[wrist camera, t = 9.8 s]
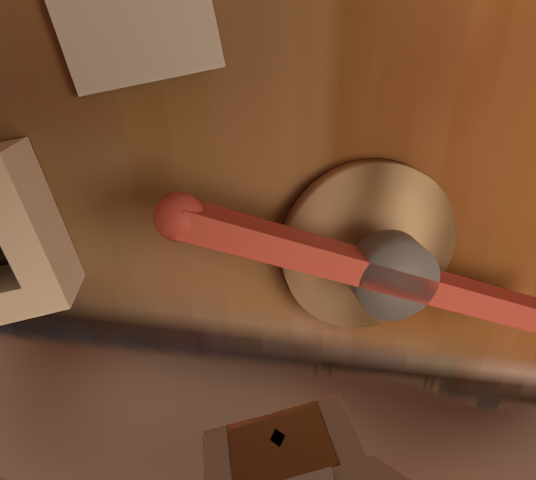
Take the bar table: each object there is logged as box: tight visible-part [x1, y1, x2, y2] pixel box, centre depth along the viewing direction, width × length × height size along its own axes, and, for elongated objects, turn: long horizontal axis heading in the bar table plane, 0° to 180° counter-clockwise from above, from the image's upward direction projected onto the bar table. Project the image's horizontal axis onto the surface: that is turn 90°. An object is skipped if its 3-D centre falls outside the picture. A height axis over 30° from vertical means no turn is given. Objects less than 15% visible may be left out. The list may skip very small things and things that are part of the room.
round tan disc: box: [281, 158, 456, 327], centre depth 29 cm, size 12×12×3 cm
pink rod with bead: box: [153, 192, 536, 333], centre depth 26 cm, size 5×29×3 cm, turn 70°
